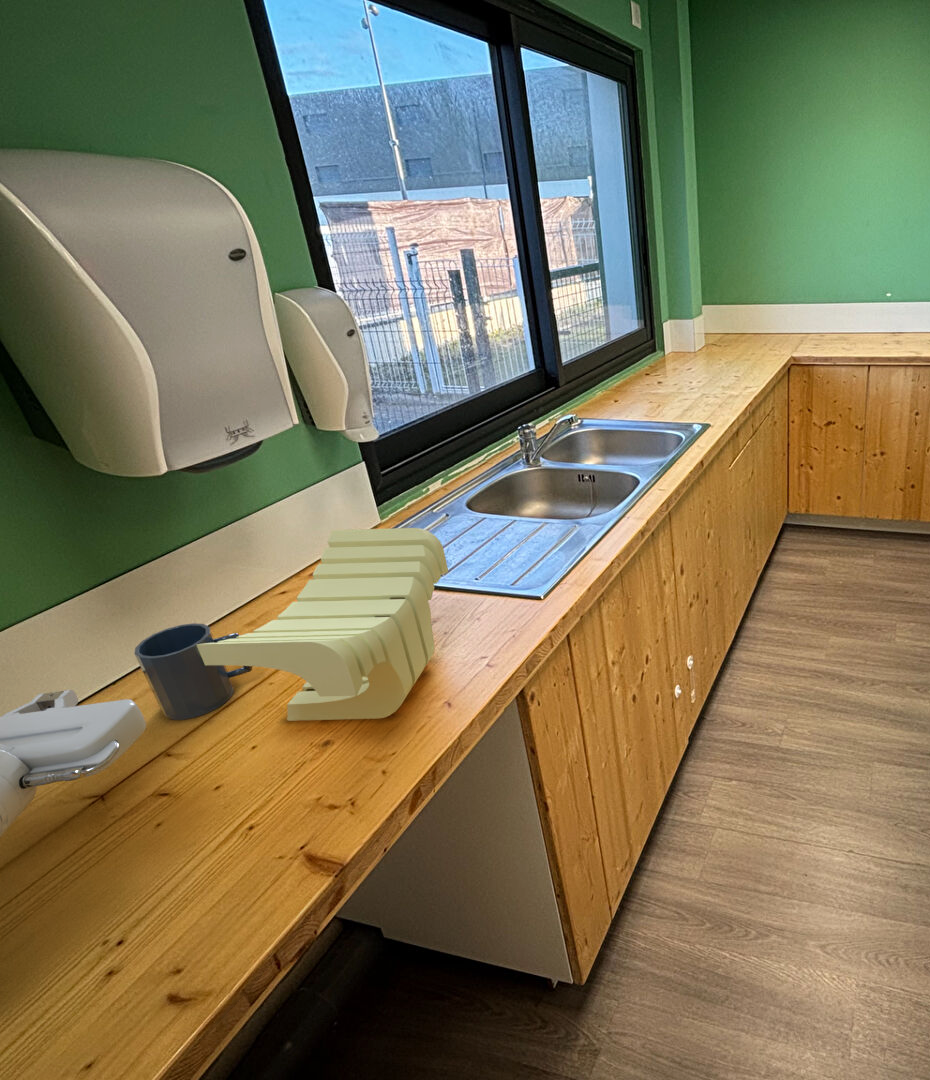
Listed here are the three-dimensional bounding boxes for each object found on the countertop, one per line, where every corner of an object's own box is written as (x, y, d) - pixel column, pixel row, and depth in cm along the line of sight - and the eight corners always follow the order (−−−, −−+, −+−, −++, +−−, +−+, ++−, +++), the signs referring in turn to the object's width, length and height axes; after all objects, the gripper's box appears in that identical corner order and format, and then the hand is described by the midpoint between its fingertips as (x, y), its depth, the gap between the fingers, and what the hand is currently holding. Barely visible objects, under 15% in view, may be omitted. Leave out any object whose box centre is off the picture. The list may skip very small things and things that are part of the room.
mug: (162, 728, 92) (132, 665, 87) (164, 696, 98) (136, 636, 94) (259, 696, 97) (235, 636, 93) (255, 668, 103) (233, 610, 99)
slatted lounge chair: (378, 764, 84) (339, 640, 77) (248, 767, 85) (196, 644, 77) (461, 628, 112) (438, 527, 104) (362, 630, 112) (332, 530, 104)
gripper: (84, 746, 61) (161, 657, 73) (-201, 788, 57) (-70, 687, 70) (112, 799, 64) (182, 705, 76) (-158, 843, 60) (-39, 736, 72)
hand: (60, 696), depth 73 cm, fingers closed
